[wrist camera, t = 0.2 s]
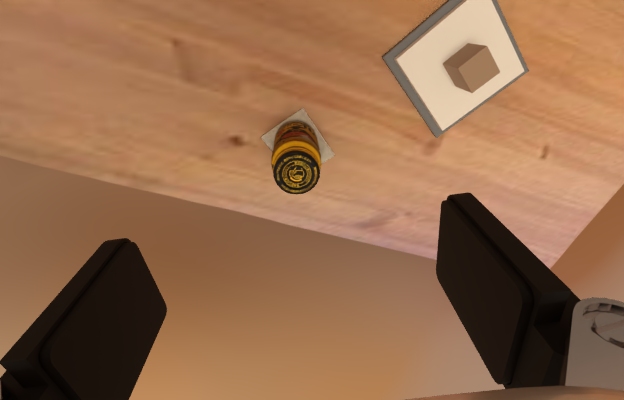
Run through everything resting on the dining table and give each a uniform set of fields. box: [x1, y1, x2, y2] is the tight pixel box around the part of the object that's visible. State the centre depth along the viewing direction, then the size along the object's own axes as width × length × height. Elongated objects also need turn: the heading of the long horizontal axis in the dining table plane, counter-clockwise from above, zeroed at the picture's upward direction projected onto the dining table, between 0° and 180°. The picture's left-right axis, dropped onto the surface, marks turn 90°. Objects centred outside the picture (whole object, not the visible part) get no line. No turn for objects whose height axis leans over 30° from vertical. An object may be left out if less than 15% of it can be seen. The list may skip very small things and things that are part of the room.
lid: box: [394, 0, 524, 131], centre depth 39 cm, size 12×12×6 cm
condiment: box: [261, 108, 335, 194], centre depth 42 cm, size 7×8×12 cm
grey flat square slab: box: [382, 0, 529, 138], centre depth 42 cm, size 14×14×1 cm
